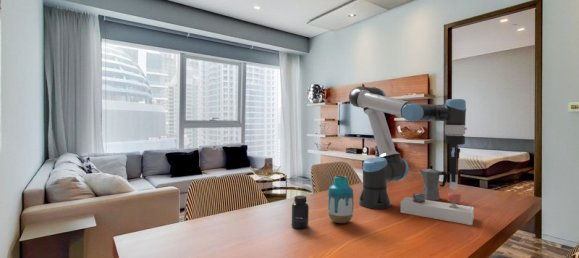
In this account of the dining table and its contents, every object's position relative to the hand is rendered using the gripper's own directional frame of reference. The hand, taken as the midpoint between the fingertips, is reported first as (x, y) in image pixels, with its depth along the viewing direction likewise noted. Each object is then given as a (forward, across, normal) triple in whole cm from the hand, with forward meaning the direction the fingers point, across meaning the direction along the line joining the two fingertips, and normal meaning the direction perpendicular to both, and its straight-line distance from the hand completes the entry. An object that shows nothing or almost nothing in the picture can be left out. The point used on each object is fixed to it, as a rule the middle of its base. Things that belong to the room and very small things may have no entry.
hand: (453, 189), depth 123 cm
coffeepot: (+13, +30, +13) cm, 35 cm away
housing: (+13, 0, +7) cm, 14 cm away
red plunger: (+10, 0, 0) cm, 10 cm away
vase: (+13, -33, +38) cm, 52 cm away
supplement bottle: (+13, -47, +49) cm, 69 cm away
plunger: (+13, 0, +14) cm, 19 cm away
